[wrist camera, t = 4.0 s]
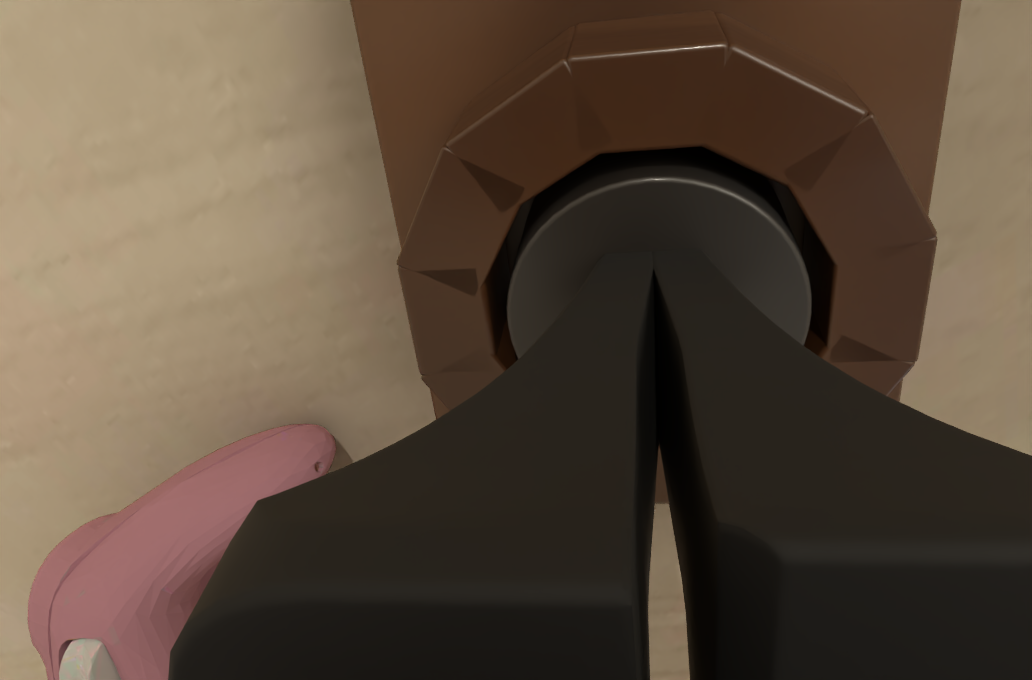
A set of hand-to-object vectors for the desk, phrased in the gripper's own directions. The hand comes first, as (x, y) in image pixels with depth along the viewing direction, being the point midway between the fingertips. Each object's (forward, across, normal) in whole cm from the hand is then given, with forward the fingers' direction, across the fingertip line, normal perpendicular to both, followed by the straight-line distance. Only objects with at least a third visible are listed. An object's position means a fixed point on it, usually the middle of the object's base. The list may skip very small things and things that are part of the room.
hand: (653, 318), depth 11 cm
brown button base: (+4, 0, 0) cm, 4 cm away
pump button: (+2, 0, 0) cm, 2 cm away
